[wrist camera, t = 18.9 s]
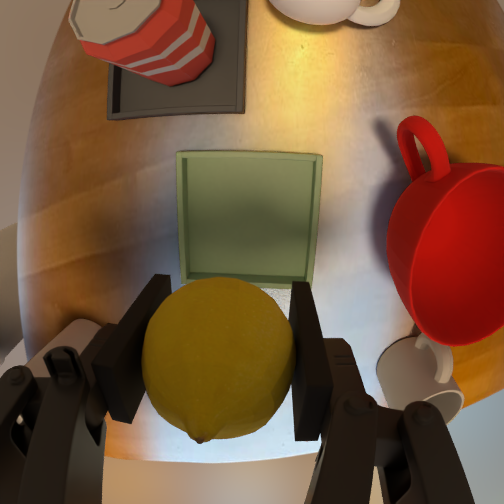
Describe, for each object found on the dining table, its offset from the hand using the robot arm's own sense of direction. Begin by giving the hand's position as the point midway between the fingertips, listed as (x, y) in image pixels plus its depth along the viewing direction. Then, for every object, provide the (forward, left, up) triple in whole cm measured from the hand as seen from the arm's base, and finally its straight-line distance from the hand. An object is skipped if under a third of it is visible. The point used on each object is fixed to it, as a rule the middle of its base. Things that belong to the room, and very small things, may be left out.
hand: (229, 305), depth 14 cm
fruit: (0, 0, -1) cm, 1 cm away
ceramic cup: (+15, +3, -13) cm, 20 cm away
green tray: (0, +1, -13) cm, 13 cm away
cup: (+18, -13, -13) cm, 26 cm away
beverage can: (-6, +15, -13) cm, 20 cm away
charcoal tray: (-6, +15, -13) cm, 20 cm away
